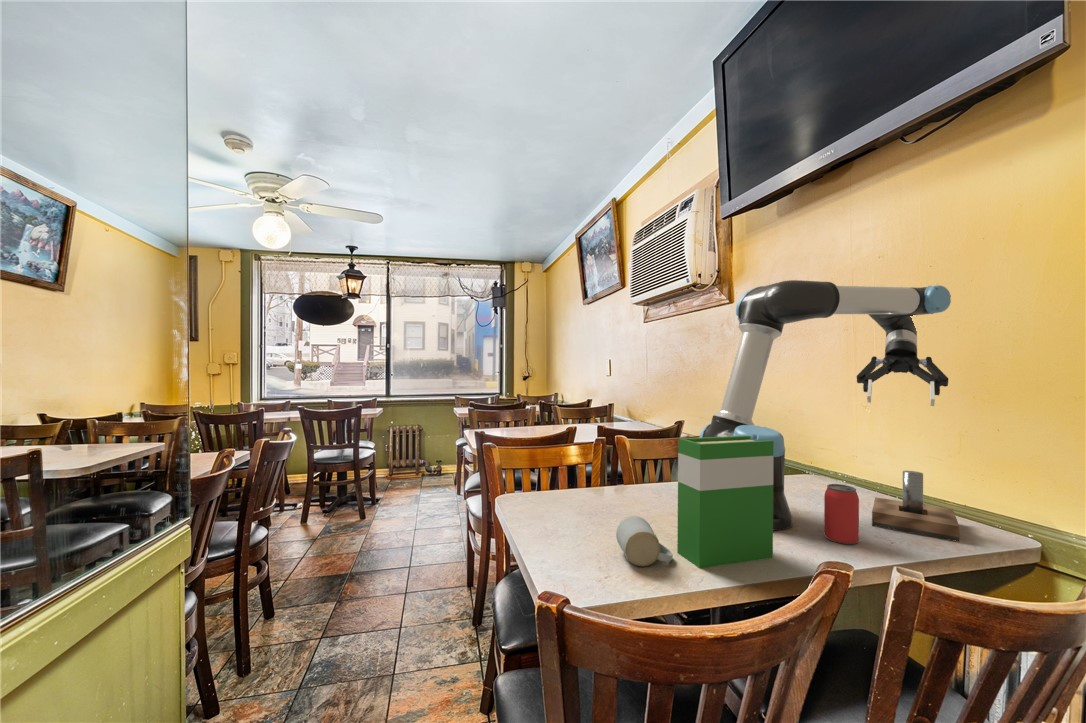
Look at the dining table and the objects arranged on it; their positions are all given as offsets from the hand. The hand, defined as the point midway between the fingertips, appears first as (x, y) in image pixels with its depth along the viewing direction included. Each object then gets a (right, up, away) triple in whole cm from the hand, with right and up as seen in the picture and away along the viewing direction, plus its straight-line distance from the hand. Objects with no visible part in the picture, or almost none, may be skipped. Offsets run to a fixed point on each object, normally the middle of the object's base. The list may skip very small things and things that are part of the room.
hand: (899, 401), depth 123 cm
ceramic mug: (-77, -30, -32) cm, 88 cm away
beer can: (-29, -30, -20) cm, 47 cm away
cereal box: (-60, -30, -29) cm, 73 cm away
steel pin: (-4, -29, -9) cm, 31 cm away
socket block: (-4, -30, -10) cm, 32 cm away
